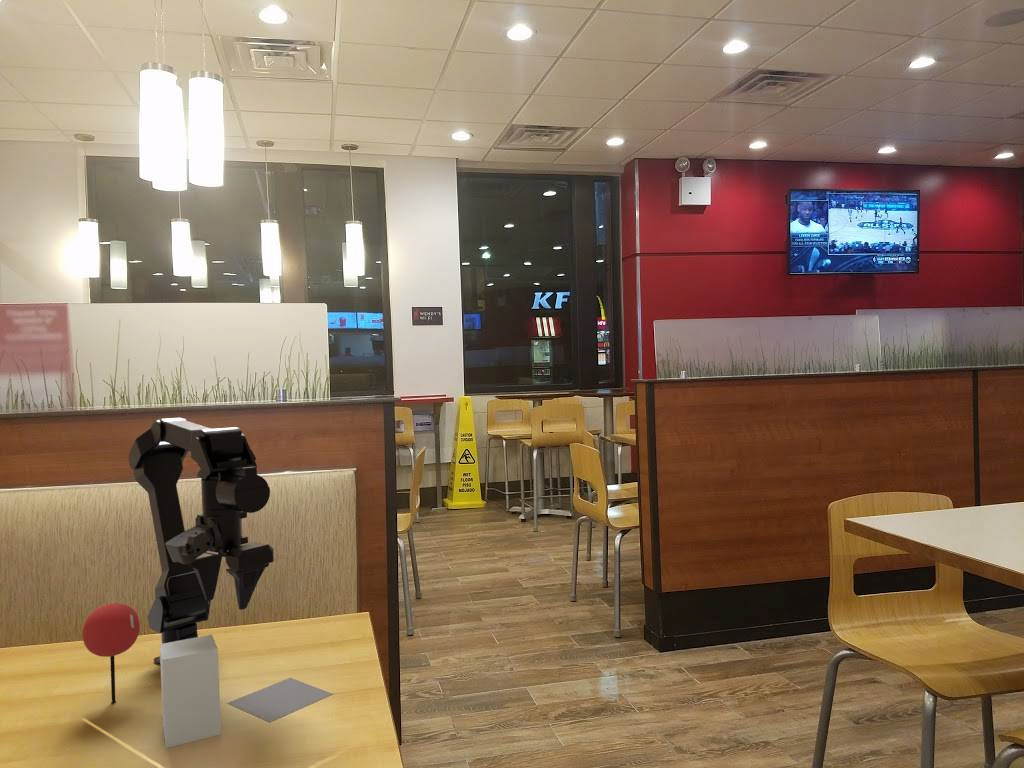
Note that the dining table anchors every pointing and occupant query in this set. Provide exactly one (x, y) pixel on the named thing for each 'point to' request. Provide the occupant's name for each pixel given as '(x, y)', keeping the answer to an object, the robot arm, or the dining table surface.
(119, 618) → the lollipop
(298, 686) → the mat
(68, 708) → the dining table surface
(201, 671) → the cover
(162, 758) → the dining table surface
